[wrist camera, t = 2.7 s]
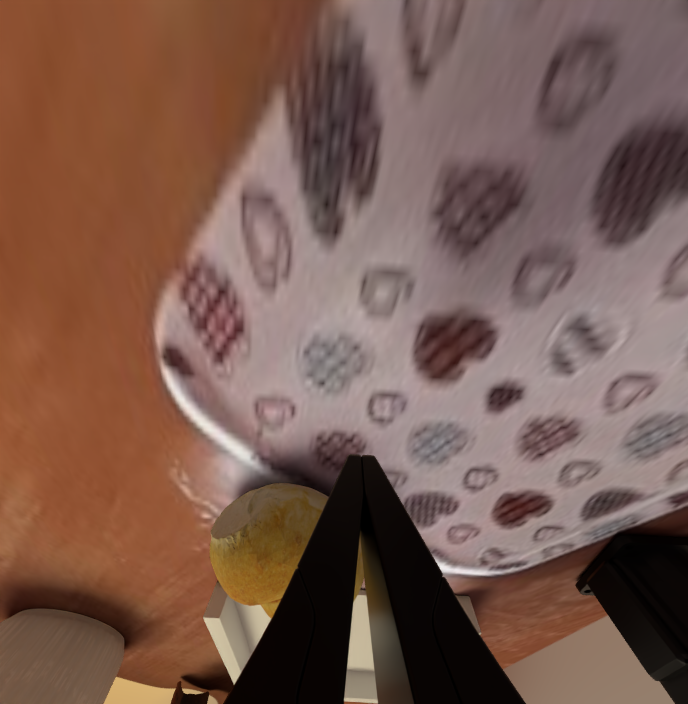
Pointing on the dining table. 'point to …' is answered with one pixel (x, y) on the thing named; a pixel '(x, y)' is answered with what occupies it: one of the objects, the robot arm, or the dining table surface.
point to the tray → (251, 621)
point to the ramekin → (57, 658)
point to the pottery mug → (188, 697)
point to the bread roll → (266, 542)
